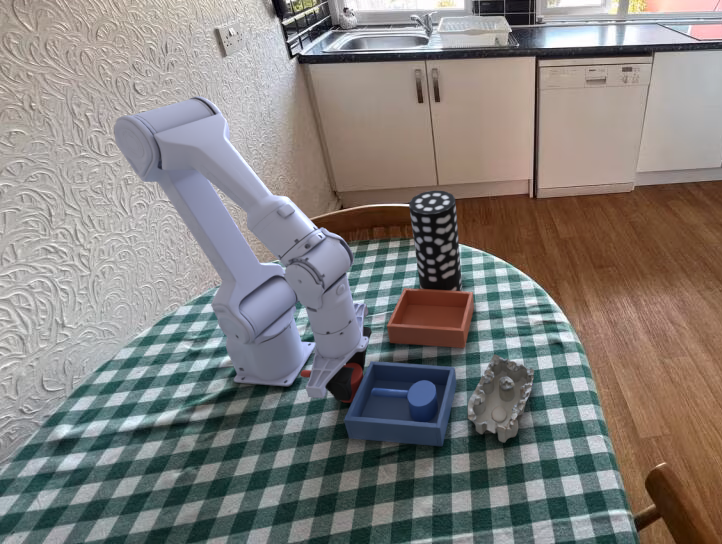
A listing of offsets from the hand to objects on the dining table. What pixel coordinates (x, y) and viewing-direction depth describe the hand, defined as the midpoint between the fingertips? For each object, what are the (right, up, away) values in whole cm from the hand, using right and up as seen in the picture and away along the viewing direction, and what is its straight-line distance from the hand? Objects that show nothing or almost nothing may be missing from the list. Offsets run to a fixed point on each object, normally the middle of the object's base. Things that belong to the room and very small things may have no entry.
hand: (350, 384), depth 62 cm
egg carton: (+23, -3, -1) cm, 23 cm away
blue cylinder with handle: (+9, -2, -2) cm, 9 cm away
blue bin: (+9, -3, -2) cm, 9 cm away
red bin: (+10, +4, +13) cm, 17 cm away
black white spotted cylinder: (+10, +17, +17) cm, 26 cm away
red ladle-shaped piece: (-3, -1, +1) cm, 3 cm away
